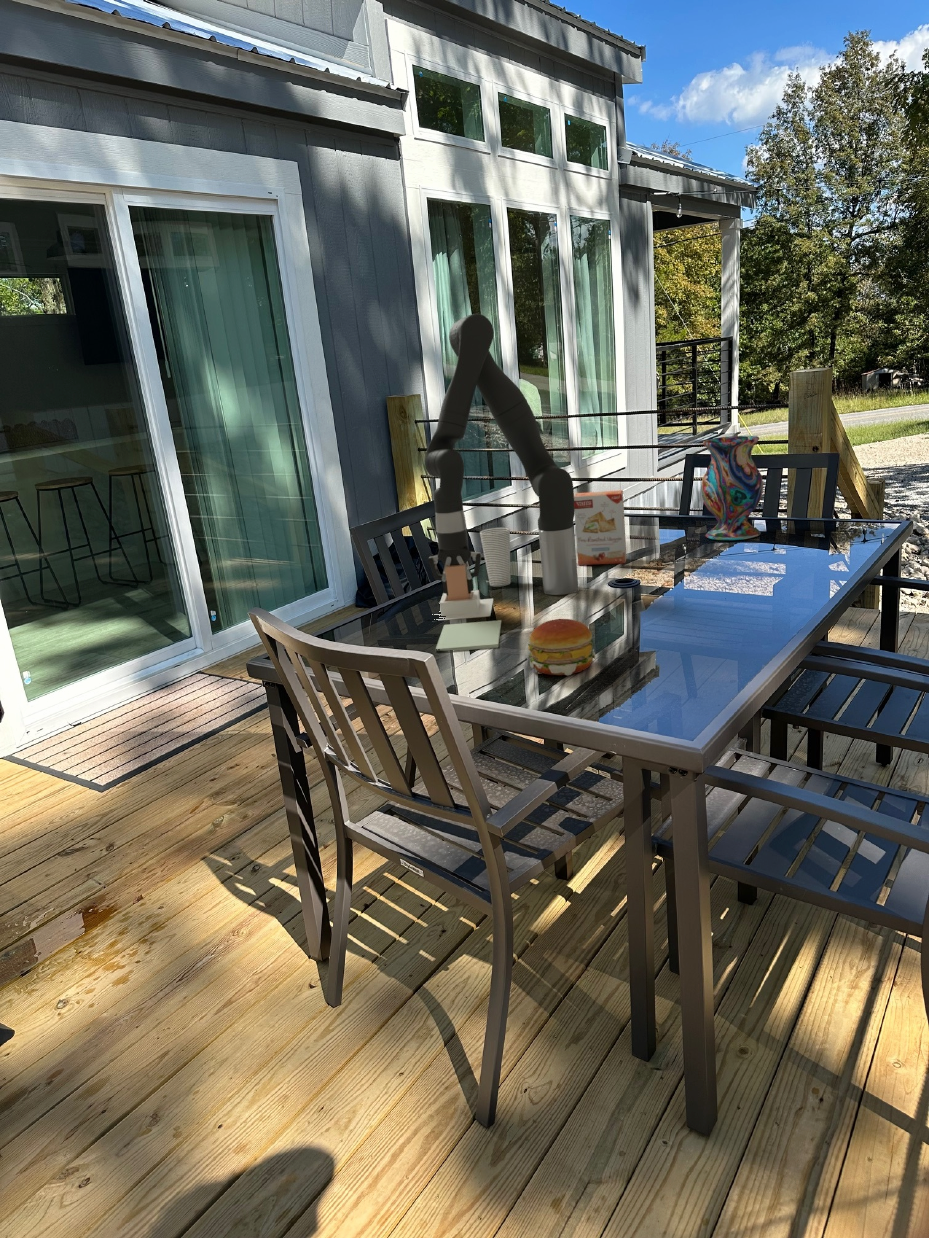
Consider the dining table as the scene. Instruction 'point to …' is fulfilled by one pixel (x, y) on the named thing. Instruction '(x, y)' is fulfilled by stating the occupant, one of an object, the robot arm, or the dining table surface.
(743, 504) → the vase
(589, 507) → the cracker box
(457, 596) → the part
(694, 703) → the dining table surface
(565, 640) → the burger
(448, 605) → the pocket
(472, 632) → the mat
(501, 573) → the cup
